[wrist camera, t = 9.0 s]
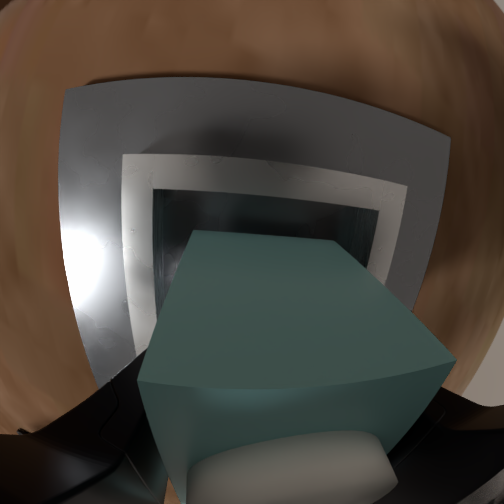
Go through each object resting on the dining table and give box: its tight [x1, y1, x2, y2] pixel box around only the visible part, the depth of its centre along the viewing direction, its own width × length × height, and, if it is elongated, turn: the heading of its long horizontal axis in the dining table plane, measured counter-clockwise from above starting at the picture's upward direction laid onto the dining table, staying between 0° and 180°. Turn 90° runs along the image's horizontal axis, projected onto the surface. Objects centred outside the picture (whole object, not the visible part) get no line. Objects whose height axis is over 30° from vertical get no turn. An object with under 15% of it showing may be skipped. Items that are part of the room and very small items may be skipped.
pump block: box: [137, 230, 457, 504], centre depth 6 cm, size 4×6×7 cm
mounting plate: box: [58, 77, 451, 389], centre depth 10 cm, size 16×16×2 cm
